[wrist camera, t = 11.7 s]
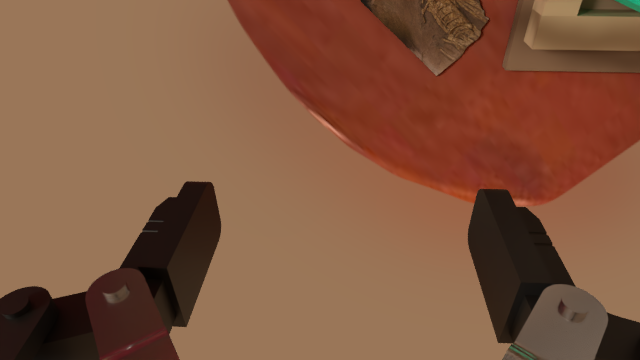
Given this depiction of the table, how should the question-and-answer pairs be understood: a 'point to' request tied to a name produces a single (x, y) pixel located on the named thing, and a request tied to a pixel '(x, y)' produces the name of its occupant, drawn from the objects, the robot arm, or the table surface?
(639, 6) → the candle
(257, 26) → the table surface
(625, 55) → the board
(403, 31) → the wooden fragment
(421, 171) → the table surface
